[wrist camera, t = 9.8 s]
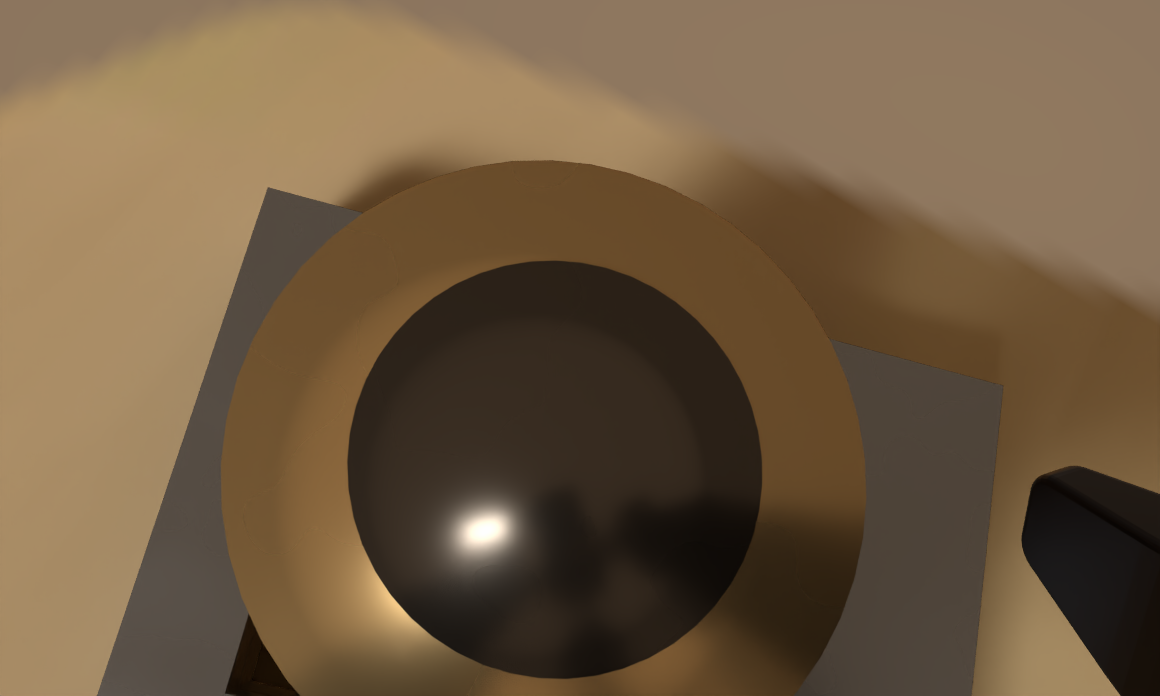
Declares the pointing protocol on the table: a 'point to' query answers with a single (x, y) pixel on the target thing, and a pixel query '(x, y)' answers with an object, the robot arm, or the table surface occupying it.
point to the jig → (872, 611)
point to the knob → (542, 451)
